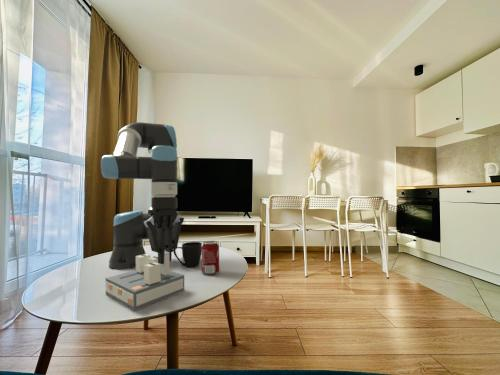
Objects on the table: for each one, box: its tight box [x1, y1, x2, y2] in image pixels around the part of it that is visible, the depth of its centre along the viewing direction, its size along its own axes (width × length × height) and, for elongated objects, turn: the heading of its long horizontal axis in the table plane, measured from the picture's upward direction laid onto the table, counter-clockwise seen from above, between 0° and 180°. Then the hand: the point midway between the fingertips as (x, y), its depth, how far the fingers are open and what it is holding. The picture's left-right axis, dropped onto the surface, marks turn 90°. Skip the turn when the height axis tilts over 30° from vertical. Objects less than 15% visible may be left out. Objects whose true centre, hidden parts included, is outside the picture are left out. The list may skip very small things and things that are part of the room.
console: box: [105, 269, 185, 311], centre depth 75 cm, size 18×16×5 cm
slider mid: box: [148, 255, 158, 264], centre depth 77 cm, size 3×4×5 cm
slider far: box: [135, 253, 151, 273], centre depth 80 cm, size 3×4×5 cm
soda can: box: [201, 240, 220, 276], centre depth 94 cm, size 7×7×12 cm
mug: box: [172, 241, 203, 269], centre depth 102 cm, size 8×12×10 cm
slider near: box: [144, 262, 161, 285], centre depth 70 cm, size 3×4×5 cm
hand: (164, 273), depth 73 cm, fingers closed
